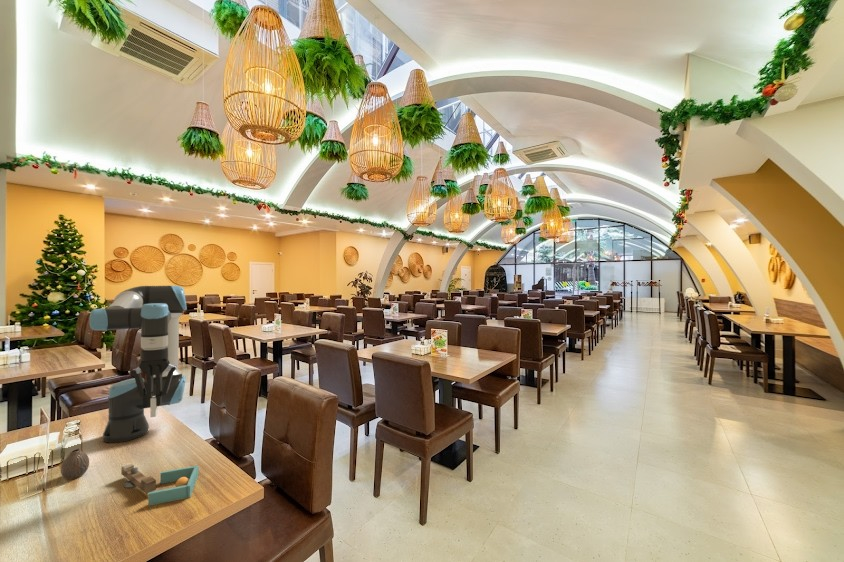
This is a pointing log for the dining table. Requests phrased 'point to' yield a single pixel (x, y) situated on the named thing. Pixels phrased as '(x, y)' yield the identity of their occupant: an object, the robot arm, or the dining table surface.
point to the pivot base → (129, 485)
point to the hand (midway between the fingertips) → (154, 415)
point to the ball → (181, 481)
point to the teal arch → (174, 492)
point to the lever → (138, 478)
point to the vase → (75, 464)
